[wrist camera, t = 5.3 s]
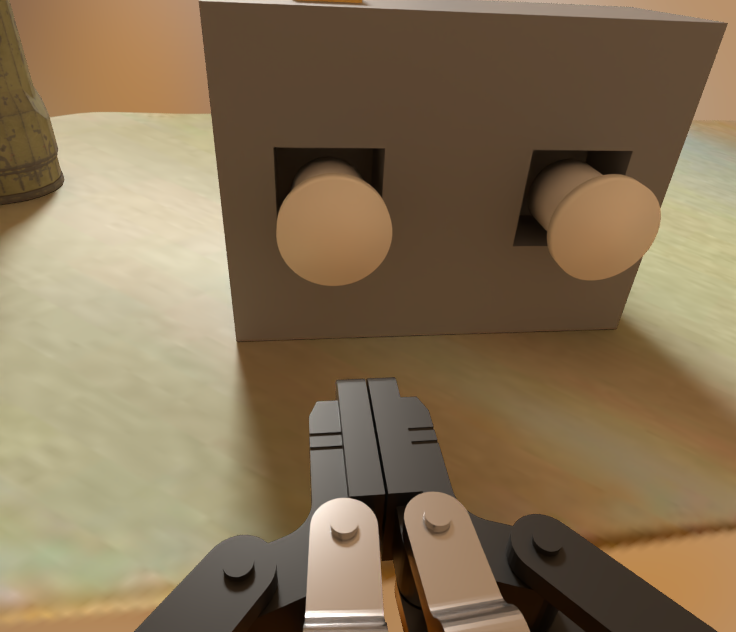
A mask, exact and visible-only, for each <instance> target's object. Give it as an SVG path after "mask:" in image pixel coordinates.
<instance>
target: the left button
mask: <svg viewBox="0 0 736 632" xmlns="http://www.w3.org/2000/svg"><path fill="white" fill-rule="evenodd" d="M276 238H277V245H278V248H279V251H280V253H281V256H282V258H283V259H284V261H285V263H286V264H287V265H288V266H289V267H290V268H291V269H292V270H293V271H294V272H295V273H296V274H298V275H299V276H300V277H302V278H304V279H306V280H308V281H310V282H313V283H316V284H320V285H326V286H340V285H346V284H350V283H354V282H356V281H359V280H361V279H363V278H365V277H366V276H368V275H369V274H371V273H372V272H373V271H374V270H375V269H376V268H377V267H378V266H379V265H380V264H381V263H382V262H383V260H384V258H385V257H386V255H387V253H388V251H389V248H390V245H391V241H392V223H391V219H390V215H389V212H388V210H387V207H386V205H385V203H384V201H383V199H382V197H381V196H380V195H379V193H378V192H377V191H376V190H375V189H374V188H373V187H372V186H371V185H370V184H368V183H367V182H365V181H364V180H363V179H362V177H361V175H360V173H359V172H358V170H357V169H356V168H355V167H354V166H353V165H352V164H350V163H349V162H347V161H345V160H343V159H340V158H337V157H320V158H316V159H313V160H311V161H309V162H308V163H306V164H305V165H304V166H303V167H301V169H300V170H299V171H298V172H297V174H296V175H295V177H294V180H293V183H292V187H291V192H290V193H289V194H288V195H287V196H286V198H285V199H284V201H283V203H282V205H281V207H280V210H279V213H278V218H277V229H276Z"/></svg>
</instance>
